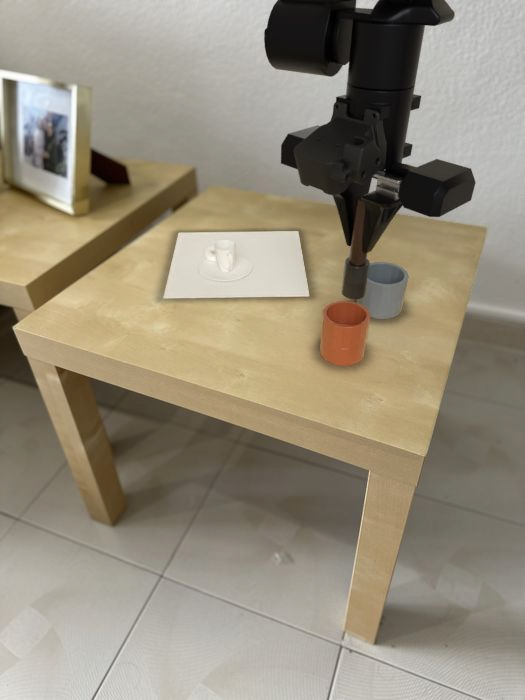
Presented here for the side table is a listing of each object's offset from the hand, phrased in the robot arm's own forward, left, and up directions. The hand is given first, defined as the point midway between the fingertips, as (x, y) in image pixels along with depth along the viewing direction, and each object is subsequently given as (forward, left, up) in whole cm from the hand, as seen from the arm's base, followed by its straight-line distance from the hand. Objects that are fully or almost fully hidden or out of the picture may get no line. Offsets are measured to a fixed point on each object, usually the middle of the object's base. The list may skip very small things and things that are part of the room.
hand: (359, 248), depth 53 cm
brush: (0, 0, -6) cm, 6 cm away
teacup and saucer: (+25, -4, -13) cm, 28 cm away
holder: (0, +1, -13) cm, 13 cm away
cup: (+3, -10, -13) cm, 16 cm away
